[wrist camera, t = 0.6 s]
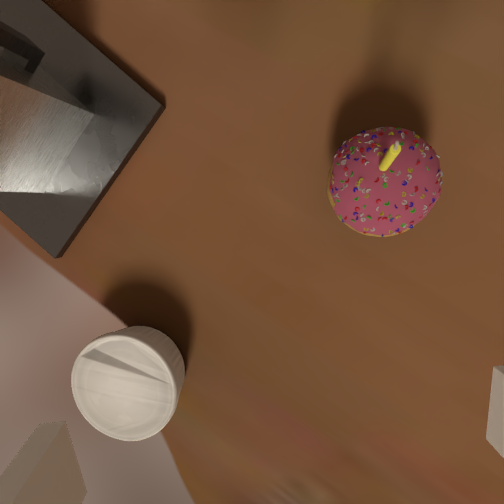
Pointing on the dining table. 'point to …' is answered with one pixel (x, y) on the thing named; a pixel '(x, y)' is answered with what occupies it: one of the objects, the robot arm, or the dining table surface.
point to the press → (61, 123)
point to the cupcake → (384, 181)
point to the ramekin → (128, 382)
